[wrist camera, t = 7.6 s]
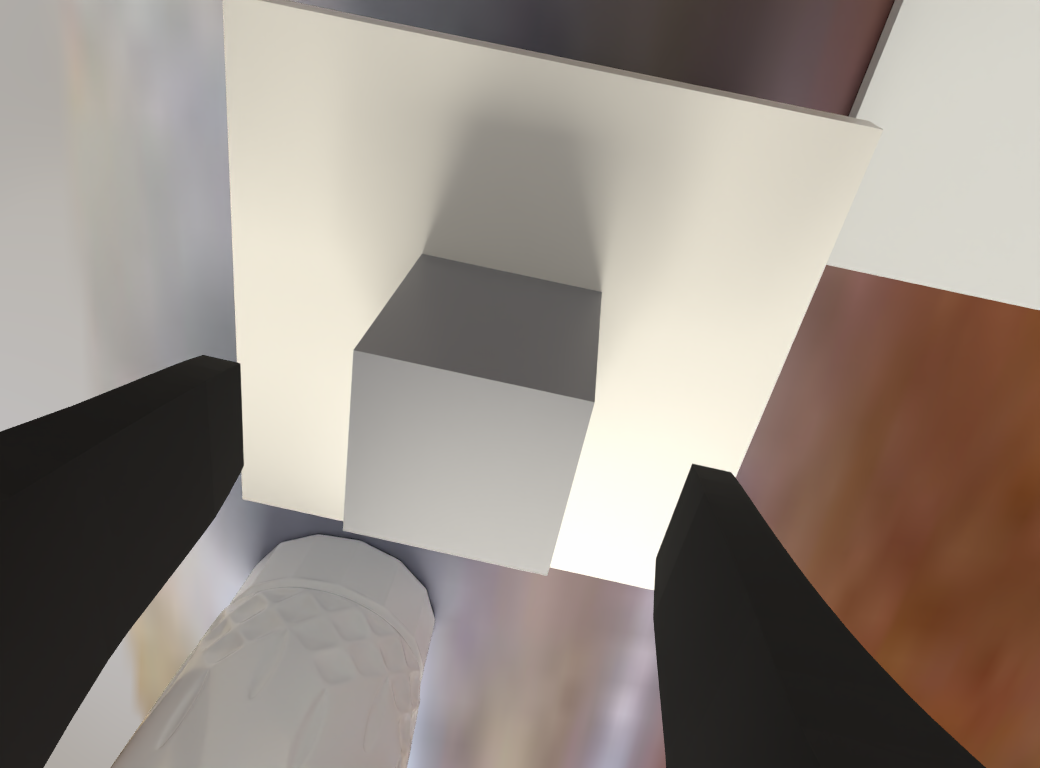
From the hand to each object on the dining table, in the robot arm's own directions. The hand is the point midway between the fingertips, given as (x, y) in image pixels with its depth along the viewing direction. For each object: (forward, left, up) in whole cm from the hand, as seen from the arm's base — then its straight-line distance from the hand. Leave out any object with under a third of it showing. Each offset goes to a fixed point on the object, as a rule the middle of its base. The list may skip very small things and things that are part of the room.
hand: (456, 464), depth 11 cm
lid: (0, 0, -5) cm, 5 cm away
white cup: (+4, +14, -9) cm, 17 cm away
